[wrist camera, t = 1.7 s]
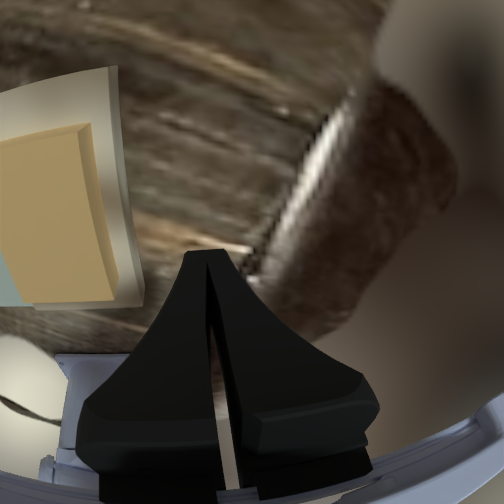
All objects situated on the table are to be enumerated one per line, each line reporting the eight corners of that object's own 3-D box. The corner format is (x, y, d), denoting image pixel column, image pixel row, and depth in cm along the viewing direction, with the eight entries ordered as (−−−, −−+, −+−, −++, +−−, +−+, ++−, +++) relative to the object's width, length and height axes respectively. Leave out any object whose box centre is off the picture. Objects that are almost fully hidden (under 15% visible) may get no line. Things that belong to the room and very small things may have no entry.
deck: (145, 286, 21) (142, 306, 19) (43, 291, 20) (35, 310, 18) (117, 65, 13) (107, 67, 11) (-9, 96, 12) (-28, 103, 10)
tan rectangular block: (119, 276, 18) (114, 300, 16) (34, 281, 17) (24, 303, 15) (90, 122, 12) (77, 132, 11) (-8, 143, 12) (-28, 156, 10)
